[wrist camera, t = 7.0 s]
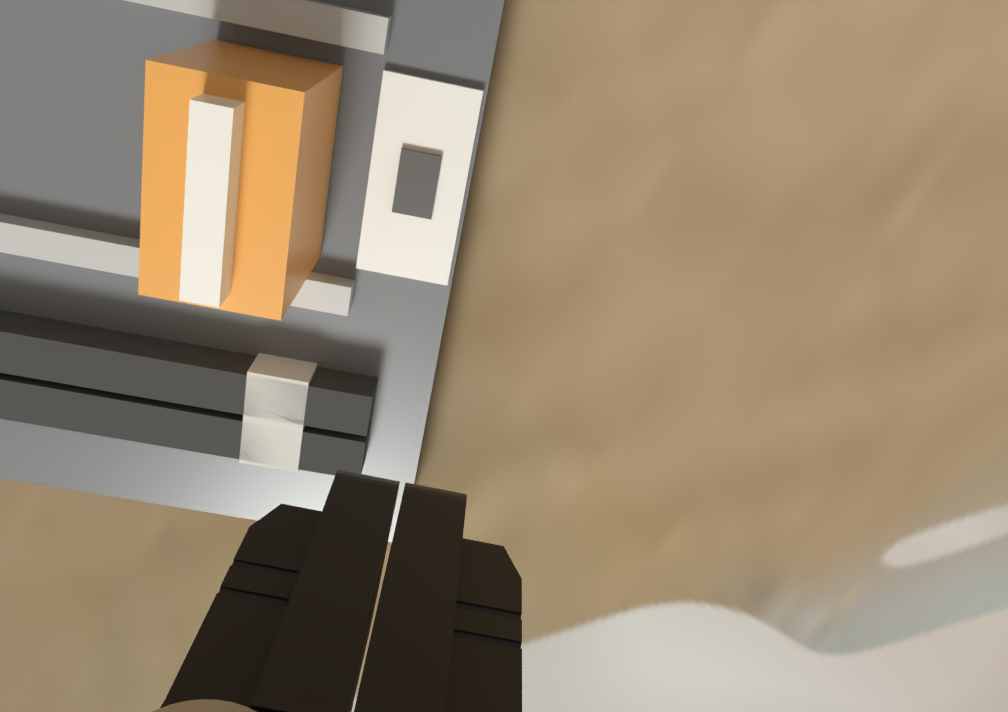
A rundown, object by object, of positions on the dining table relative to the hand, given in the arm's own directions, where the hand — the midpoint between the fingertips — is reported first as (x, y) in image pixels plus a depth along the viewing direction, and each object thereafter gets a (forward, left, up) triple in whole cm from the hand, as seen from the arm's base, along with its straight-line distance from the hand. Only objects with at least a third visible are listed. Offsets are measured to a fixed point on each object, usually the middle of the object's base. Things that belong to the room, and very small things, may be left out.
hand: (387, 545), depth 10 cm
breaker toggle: (-1, -5, -14) cm, 14 cm away
